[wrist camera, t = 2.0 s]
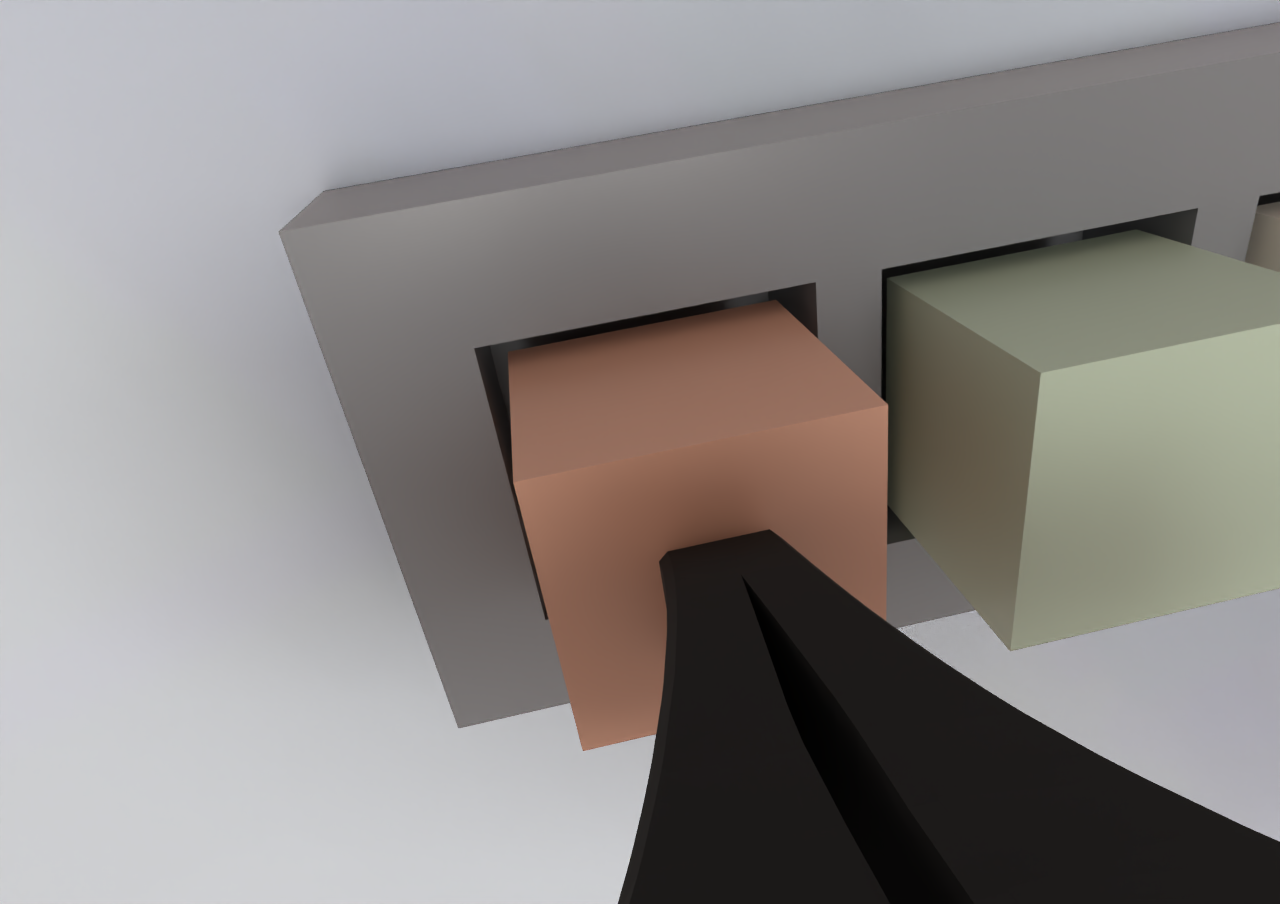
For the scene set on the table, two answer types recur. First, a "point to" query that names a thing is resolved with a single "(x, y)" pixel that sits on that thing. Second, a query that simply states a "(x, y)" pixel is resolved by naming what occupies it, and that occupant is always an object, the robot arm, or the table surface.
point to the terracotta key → (684, 481)
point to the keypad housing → (731, 280)
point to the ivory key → (1265, 238)
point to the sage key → (1088, 430)
